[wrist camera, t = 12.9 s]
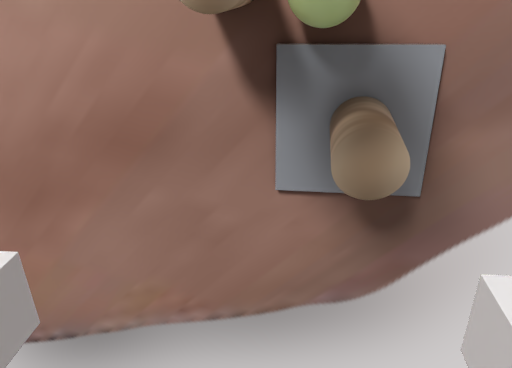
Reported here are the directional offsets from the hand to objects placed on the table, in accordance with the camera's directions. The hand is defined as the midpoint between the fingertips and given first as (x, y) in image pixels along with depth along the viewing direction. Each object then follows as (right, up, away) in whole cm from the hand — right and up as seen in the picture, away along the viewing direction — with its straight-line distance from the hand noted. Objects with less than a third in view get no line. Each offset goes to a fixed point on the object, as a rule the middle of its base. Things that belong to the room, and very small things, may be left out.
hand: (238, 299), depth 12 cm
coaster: (+8, +8, +19) cm, 22 cm away
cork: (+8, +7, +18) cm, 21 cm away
